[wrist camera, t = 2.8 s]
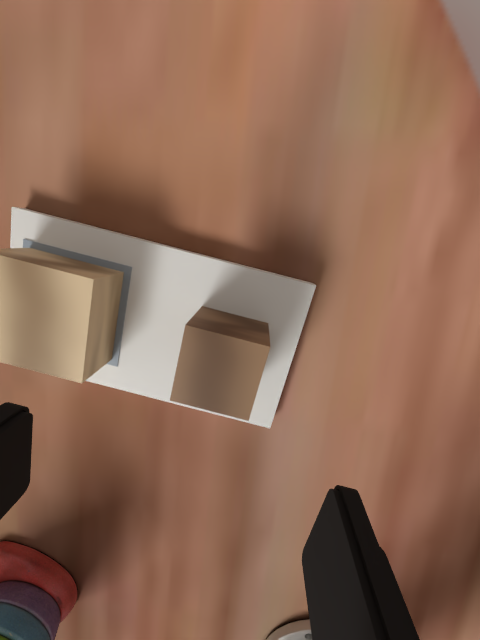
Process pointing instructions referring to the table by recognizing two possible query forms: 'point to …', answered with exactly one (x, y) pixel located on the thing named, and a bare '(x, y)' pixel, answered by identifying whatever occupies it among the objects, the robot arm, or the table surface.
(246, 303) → the board
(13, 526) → the table surface
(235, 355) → the walnut cube
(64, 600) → the stacking bear
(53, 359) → the oak base block
